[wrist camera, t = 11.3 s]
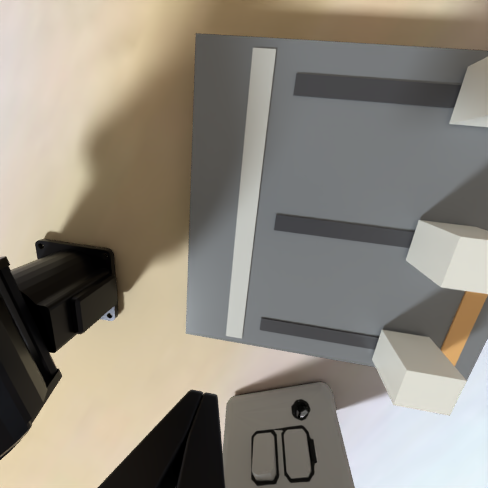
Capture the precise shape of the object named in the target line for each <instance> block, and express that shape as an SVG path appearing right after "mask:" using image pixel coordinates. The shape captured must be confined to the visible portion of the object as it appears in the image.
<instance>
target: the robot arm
mask: <svg viewBox="0 0 488 488" xmlns="http://www.w3.org/2000/svg"><path fill="white" fill-rule="evenodd" d="M35 246H36V252H37V258H38V260H35V261H33V262H30V263H28V264H25V265H23V266H20V267H18V268H15V269H13V270H10V268H9V265H10V264H9V261H8V259H7V257H6V256H5V257H0V460H1V459H2V458H3V457H4V456H5V455H7V454H8V453H9V452H10V451H11V450H12V449H13V448H14V447H15V446H16V445H17V444H18V443H19V442H20V440H21V439H22V438H23V437H24V436H25V435H26V434H27V432H28V431H29V429H30V428H31V426H32V423H33V421H34V420H35V418H36V416H37V415H38V413H39V412H40V410H41V409H42V407H43V405H44V404H45V402H46V401H47V399H48V398H49V396H50V395H51V393H52V391H53V390H54V388H55V387H56V385H57V384H58V382H59V380H60V379H61V377H62V374H61V372H60V370H59V369H57V368H56V366H55V364H54V361H53V359H52V357H51V355H50V353H49V352H51V353H55V352H56V351H57V350H59V349H60V348H61V347H62V346H63V345H65V344H66V343H67V342H68V341H69V340H70V339H72V338H73V337H74V336H75V335H76V334H82V333H84V332H85V331H86V330H87V329H88V328H90V327H91V326H92V325H93V324H94V323H95V322H96V321H98V320H99V319H103V320H108V321H113V320H114V319H115V318H116V317H117V316H118V308H117V303H118V299H117V284H116V276H115V264H114V254H113V252H112V250H110V249H108V248H101V247H94V246H88V245H81V244H74V243H68V242H61V241H54V240H47V239H41V240H38V241H37V242H36V243H35ZM105 253H106V254H107V255H108V257H107V256H106V255H105ZM98 488H226V487H225V476H224V465H223V453H222V442H221V430H220V419H219V407H218V397H217V395H216V394H211V393H204V394H203V392H201V391H196V390H190V391H189V392H188V393H187V394H186V395H185V396H184V397H183V398H182V399H181V400H180V401H179V402H178V403H177V404H176V405H175V406H174V407H173V408H172V410H171V411H170V412H169V413H168V414H167V415H166V416H165V417H164V418H163V419H162V420H161V421H160V422H159V423H158V424H157V425H156V426H155V428H154V429H153V430H152V431H151V432H150V433H149V434H148V435H147V436H146V437H145V438H144V439H143V440H142V441H141V442H140V443H139V444H138V446H137V447H136V448H135V449H134V450H133V451H132V452H131V453H130V454H129V455H128V456H127V457H126V458H125V459H124V460H123V461H122V462H121V464H120V465H119V466H118V467H117V468H116V469H115V470H114V471H113V472H112V473H111V474H110V475H109V476H108V477H107V478H106V479H105V480H104V482H103V483H102V484H101V485H100V486H99V487H98Z"/></svg>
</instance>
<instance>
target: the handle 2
mask: <svg viewBox="0 0 488 488" xmlns="http://www.w3.org/2000/svg"><path fill="white" fill-rule="evenodd" d="M449 124H455V125H467V126H478V127H488V57H486V58H484V59H482V60H480V61H478V62H476V63H474V64H472V65H470V66H468V68H467V71H466V74H465V77H464V80H463V83H462V86H461V89H460V92H459V95H458V98H457V101H456V104H455V107H454V110H453V113H452V117H451V120H450V123H449Z"/></svg>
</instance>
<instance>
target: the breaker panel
mask: <svg viewBox="0 0 488 488" xmlns="http://www.w3.org/2000/svg"><path fill="white" fill-rule="evenodd" d="M486 57H488V51H483V50H467V49H450V48H433V47H416V46H399V45H383V44H366V43H349V42H332V41H315V40H299V39H282V38H265V37H248V36H231V35H215V34H198V33H196V44H195V75H194V105H193V135H192V165H191V195H190V225H189V255H188V285H187V315H186V334H192V335H197V336H203V337H209V338H214V339H220V340H225V341H231V342H237V343H242V344H248V345H254V346H259V347H265V348H271V349H276V350H282V351H288V352H293V353H299V354H305V355H310V356H316V357H321V358H327V359H333V360H338V361H344V362H350V363H355V364H361V365H367V366H372V367H375V365H374V363H373V361H372V358H373V355H374V352H375V349H376V346H377V343H378V339H379V336H380V333H381V330H388V331H394V332H400V333H406V334H413V335H419V336H425V337H430V339H431V340H432V341H433V342H434V343H435V344H436V346H437V347H438V348H439V349H440V350H441V351H442V352H443V354H444V355H445V356H446V357H447V358H448V359H449V361H450V362H451V363H452V364H453V365H454V366H455V368H456V369H457V370H458V371H459V372H460V373H461V375H462V376H463V377H464V378H465V379H466V380H467V379H468V377H469V375H470V373H471V371H472V369H473V367H474V365H475V363H476V361H477V359H478V357H479V355H480V353H481V351H482V349H483V347H484V345H485V343H486V341H487V339H488V294H484V293H477V292H470V291H463V290H456V289H449V288H442V287H440V286H438V285H437V284H436V283H434V282H433V281H432V280H431V279H429V278H428V277H427V276H425V275H424V274H423V273H421V272H420V271H419V270H418V269H416V268H415V267H414V266H412V265H411V264H410V263H408V262H407V261H406V258H407V254H408V251H409V248H410V245H411V242H412V239H413V236H414V233H415V230H416V227H417V224H418V221H419V220H424V221H432V222H440V223H449V224H457V225H465V226H473V227H478V228H481V229H484V230H487V231H488V127H478V126H467V125H455V124H449V123H450V120H451V117H452V113H453V110H454V107H455V104H456V101H457V98H458V95H459V92H460V89H461V86H462V83H463V80H464V77H465V74H466V71H467V68H468V66H470V65H472V64H474V63H476V62H478V61H480V60H482V59H484V58H486Z"/></svg>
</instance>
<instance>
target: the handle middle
mask: <svg viewBox="0 0 488 488" xmlns="http://www.w3.org/2000/svg"><path fill="white" fill-rule="evenodd" d="M406 261H407V262H408V263H410V264H411V265H412V266H414V267H415V268H416V269H418V270H419V271H420V272H421V273H423V274H424V275H425V276H427V277H428V278H429V279H431V280H432V281H433V282H434V283H436V284H437V285H438V286H440V287H442V288H449V289H456V290H463V291H470V292H477V293H484V294H488V231H487V230H484V229H481V228H478V227H473V226H465V225H457V224H449V223H440V222H432V221H424V220H419V221H418V224H417V227H416V230H415V233H414V236H413V239H412V242H411V245H410V248H409V251H408V254H407V258H406Z"/></svg>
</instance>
